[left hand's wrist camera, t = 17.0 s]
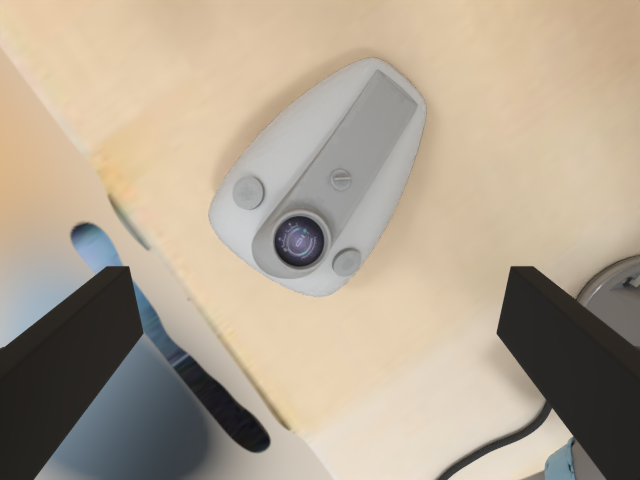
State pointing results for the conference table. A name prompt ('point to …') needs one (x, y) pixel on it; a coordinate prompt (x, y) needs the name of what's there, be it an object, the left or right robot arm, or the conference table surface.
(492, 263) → the conference table surface
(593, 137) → the conference table surface
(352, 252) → the projector
